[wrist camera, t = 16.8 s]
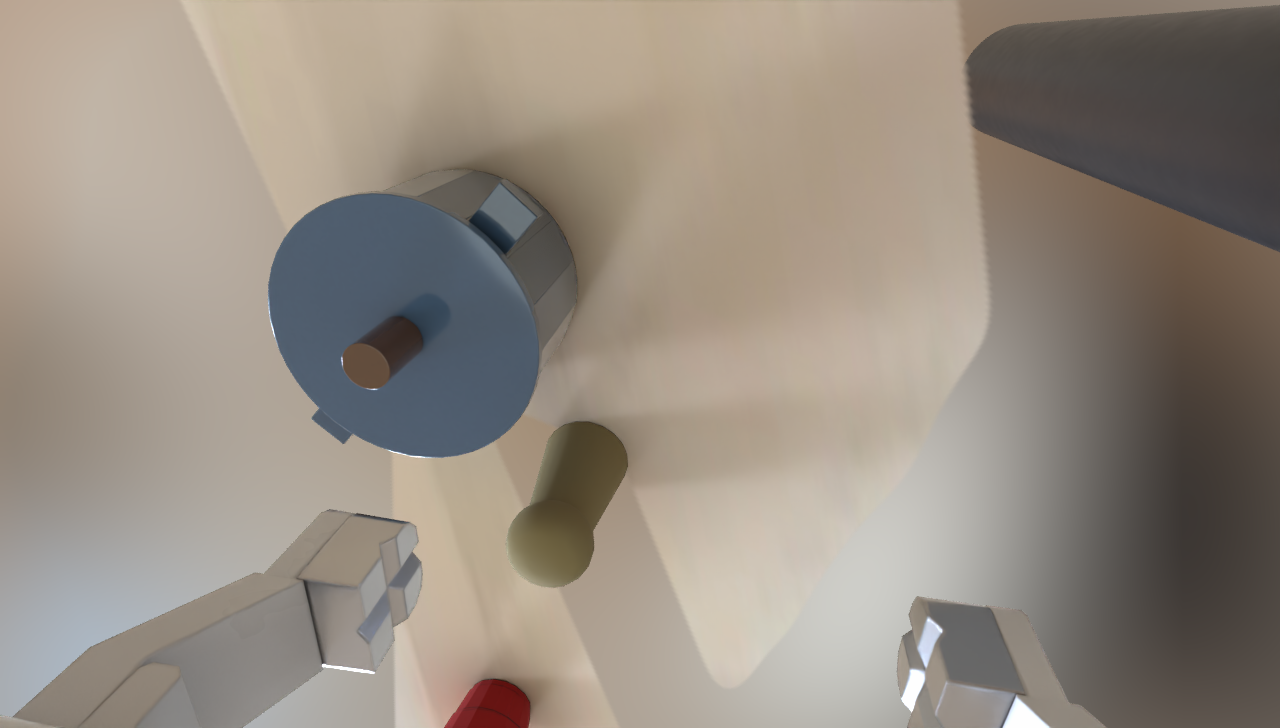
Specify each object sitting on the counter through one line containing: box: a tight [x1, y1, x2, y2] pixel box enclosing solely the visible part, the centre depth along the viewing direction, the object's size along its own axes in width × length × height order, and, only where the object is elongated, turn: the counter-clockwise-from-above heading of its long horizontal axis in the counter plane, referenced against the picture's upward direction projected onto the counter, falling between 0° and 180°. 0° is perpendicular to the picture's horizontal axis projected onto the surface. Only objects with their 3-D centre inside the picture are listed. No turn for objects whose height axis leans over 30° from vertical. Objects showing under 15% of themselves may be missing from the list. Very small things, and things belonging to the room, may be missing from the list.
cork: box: [506, 422, 628, 588], centre depth 43 cm, size 6×6×11 cm
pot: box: [311, 169, 577, 444], centre depth 39 cm, size 14×19×10 cm
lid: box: [268, 191, 542, 458], centre depth 33 cm, size 15×15×5 cm
